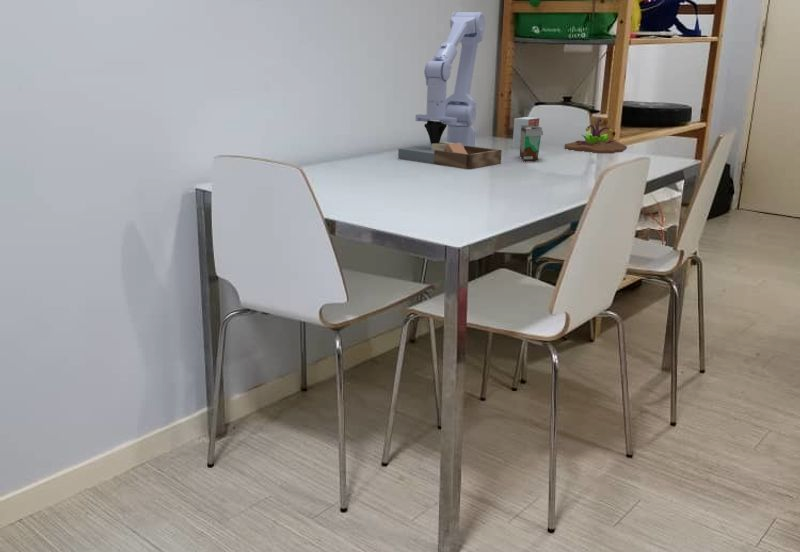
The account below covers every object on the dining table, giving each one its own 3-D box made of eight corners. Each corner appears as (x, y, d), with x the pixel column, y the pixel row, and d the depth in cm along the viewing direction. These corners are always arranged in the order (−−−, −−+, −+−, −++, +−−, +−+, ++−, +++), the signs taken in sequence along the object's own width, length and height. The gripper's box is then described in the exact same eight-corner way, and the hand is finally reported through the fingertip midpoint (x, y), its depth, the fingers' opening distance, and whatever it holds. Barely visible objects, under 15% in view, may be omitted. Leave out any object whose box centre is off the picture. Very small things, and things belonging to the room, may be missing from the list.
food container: (544, 163, 242) (546, 129, 239) (523, 162, 242) (526, 129, 239) (538, 157, 253) (540, 125, 250) (518, 156, 253) (521, 124, 251)
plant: (634, 152, 272) (638, 119, 269) (612, 158, 257) (615, 123, 254) (580, 146, 283) (583, 114, 280) (556, 152, 268) (558, 118, 265)
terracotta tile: (456, 146, 242) (460, 142, 240) (464, 159, 241) (469, 155, 239) (444, 148, 237) (448, 144, 236) (452, 161, 236) (457, 157, 235)
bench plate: (430, 153, 255) (431, 144, 254) (465, 158, 247) (466, 148, 246) (398, 158, 244) (398, 148, 243) (433, 163, 235) (434, 153, 234)
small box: (526, 151, 267) (528, 119, 264) (511, 149, 270) (513, 118, 267) (537, 148, 273) (539, 117, 270) (523, 147, 276) (525, 116, 273)
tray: (465, 158, 247) (466, 145, 245) (500, 163, 239) (501, 150, 237) (433, 163, 235) (434, 150, 234) (469, 169, 227) (470, 155, 226)
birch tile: (443, 148, 245) (443, 142, 245) (456, 150, 242) (456, 143, 242) (431, 150, 241) (431, 143, 240) (444, 151, 238) (444, 145, 237)
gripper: (409, 100, 241) (408, 145, 245) (447, 103, 232) (445, 150, 236) (424, 99, 246) (422, 143, 250) (461, 102, 237) (459, 148, 241)
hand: (434, 146), depth 244 cm, fingers closed
